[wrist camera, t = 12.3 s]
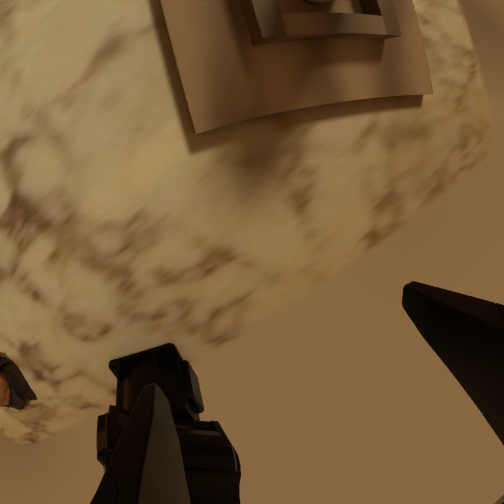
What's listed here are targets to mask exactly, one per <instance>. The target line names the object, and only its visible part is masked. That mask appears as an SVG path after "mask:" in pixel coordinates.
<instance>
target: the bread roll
mask: <svg viewBox="0 0 504 504" xmlns="http://www.w3.org/2000/svg"><path fill="white" fill-rule="evenodd" d="M36 399H37V398H36V395H35V393H34V392H33V390H32V389H31V388H30V386H29V385H28V383H27V382H26V380H25V379H24V377H23V374H22V373H21V371H20V370H19V368H18V367H17V365H16V364H15V363H14V362H13V361H12V360H10V359H9V358H8V357H7V356H6V354H5V353H2V352H0V406H5V407H12V408H15V409H18V410H22V409H23V407H24V404H25V402H26V401H28V400H36Z"/></svg>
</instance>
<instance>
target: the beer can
mask: <svg viewBox="0 0 504 504" xmlns="http://www.w3.org/2000/svg"><path fill="white" fill-rule="evenodd" d="M308 1H311V2H320V3H323V2H328V1H331V0H308Z"/></svg>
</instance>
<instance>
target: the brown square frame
mask: <svg viewBox="0 0 504 504" xmlns="http://www.w3.org/2000/svg"><path fill="white" fill-rule="evenodd" d="M159 2H160V6H161V10H162V14H163V18H164V22H165V25H166V29H167V33H168V37H169V41H170V45H171V49H172V52H173V56H174V60H175V64H176V68H177V71H178V75H179V79H180V82H181V86H182V90H183V93H184V97H185V101H186V104H187V108H188V112H189V115H190V119H191V122H192V126H193V129H194V133H195V134H198V133H201V132H205V131H208V130H212V129H215V128H219V127H222V126H226V125H230V124H233V123H237V122H241V121H245V120H249V119H254V118H258V117H262V116H267V115H271V114H276V113H280V112H285V111H290V110H295V109H301V108H306V107H312V106H318V105H324V104H330V103H337V102H344V101H352V100H360V99H369V98H378V97H389V96H403V95H421V94H433V89H432V83H431V77H430V71H429V66H428V61H427V56H426V51H425V46H424V42H423V38H422V34H421V30H420V26H419V22H418V19H417V15H416V12H415V9H414V5H413V2H412V0H331V1H328V2H323V3H320V2H311V1H308V0H159Z"/></svg>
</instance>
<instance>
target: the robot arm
mask: <svg viewBox="0 0 504 504" xmlns="http://www.w3.org/2000/svg"><path fill="white" fill-rule="evenodd" d="M402 305H403V308H404V310H405V311H406V313H407V314H408V316H409V317H410V319H411V320H412V322H413V323H414V324H415V326H416V327H417V329H418V330H419V332H420V334H421V335H422V336H423V338H424V339H425V340H426V341H427V343H428V344H429V345H430V346H431V348H432V349H433V350H434V351H435V353H436V354H437V355H438V356H439V358H440V359H441V360H442V361H443V363H444V364H445V365H446V366H447V367H448V369H449V370H450V372H451V373H452V374H453V375H454V377H455V378H456V379H457V380H458V382H459V383H460V384H461V386H462V387H463V388H464V390H465V391H466V392H467V394H468V395H469V396H470V398H471V399H472V400H473V402H474V403H475V405H476V406H477V407H478V409H479V410H480V411H481V413H483V416H484V417H485V419H486V420H487V422H488V423H489V424H490V426H491V427H492V429H493V430H494V432H495V433H496V435H497V436H498V438H499V439H500V441H501V442H502V444H503V445H504V305H502V304H498V303H494V302H490V301H487V300H483V299H479V298H476V297H472V296H468V295H464V294H461V293H457V292H453V291H449V290H445V289H441V288H438V287H434V286H430V285H426V284H422V283H418V282H415V281H412V282H410V283H408V284H406V285H405V286H404V288H403V297H402ZM170 348H171V350H169V349H170ZM113 365H115V366H113ZM109 369H110V370H111V371H112V372H113V374H114V375H115V376H116V378H117V393H116V406H112V405H110V406H109V411H108V413H106V414H104V415H100V416H98V420H97V460H98V461H99V462H100V463H101V464H102V466H103V467H104V472H105V473H104V475H103V478H102V480H101V482H100V485H99V487H98V489H97V491H96V493H95V495H94V497H93V499H92V501H91V503H90V504H240V497H239V484H240V478H241V471H240V462H239V458H238V455H237V453H236V451H235V449H234V448H233V446H232V444H231V443H230V441H229V439H228V438H227V436H226V434H225V433H224V431H223V429H222V428H221V426H220V424H219V423H218V421H210V422H207V421H200V418H199V413H202V412H203V411H204V406H203V401H202V397H201V392H200V388H199V382H198V377H197V376H196V374H195V372H194V371H193V369H192V367H191V365H190V364H189V362H188V361H186V360H183V358H182V357H181V355H180V353H179V351H178V350H177V348H176V346H175V345H174V344H172V343H167V344H164V345H161V346H158V347H155V348H151V349H148V350H145V351H141V352H138V353H135V354H131V355H128V356H125V357H121V358H118V359H114V360H111V361H110V362H109ZM495 504H504V495H503V496H502V497H501V498H500V499H499V500H498V501H497V502H496V503H495Z"/></svg>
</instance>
